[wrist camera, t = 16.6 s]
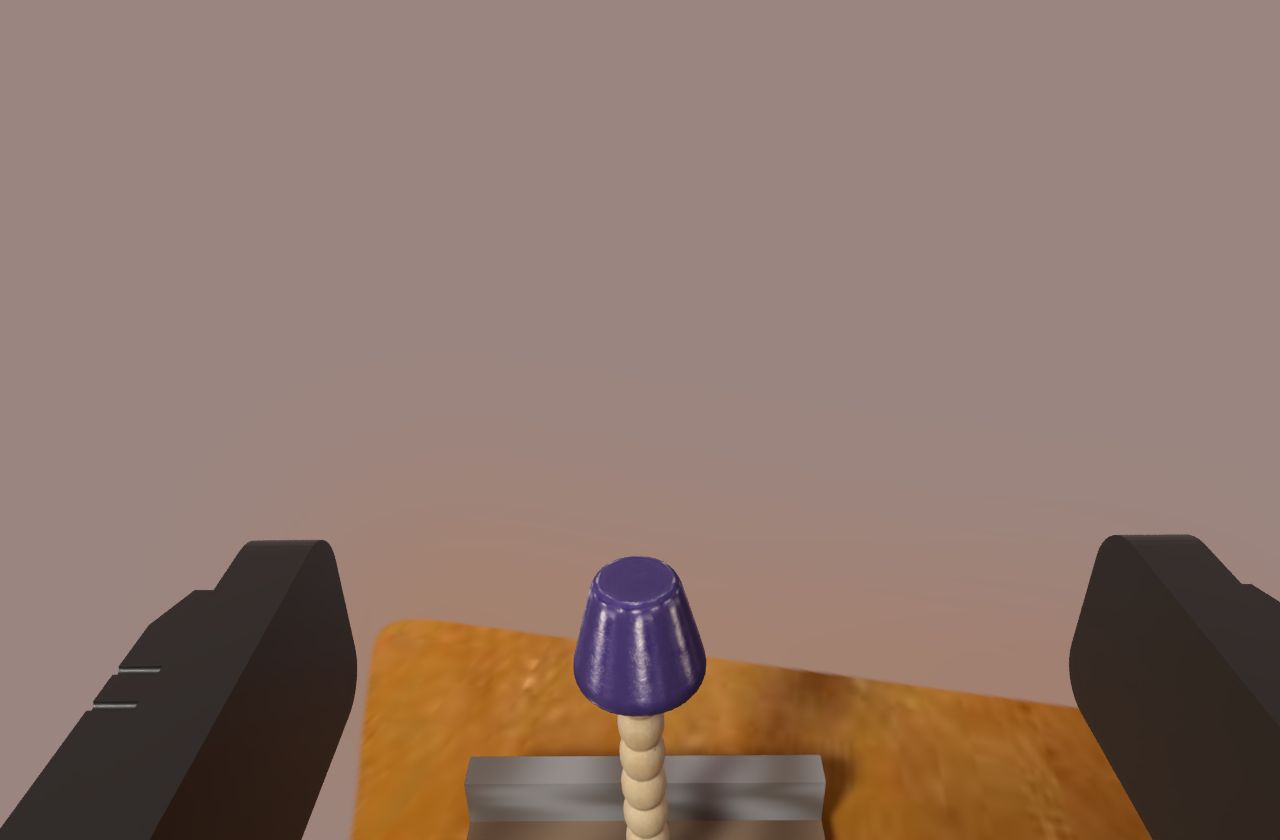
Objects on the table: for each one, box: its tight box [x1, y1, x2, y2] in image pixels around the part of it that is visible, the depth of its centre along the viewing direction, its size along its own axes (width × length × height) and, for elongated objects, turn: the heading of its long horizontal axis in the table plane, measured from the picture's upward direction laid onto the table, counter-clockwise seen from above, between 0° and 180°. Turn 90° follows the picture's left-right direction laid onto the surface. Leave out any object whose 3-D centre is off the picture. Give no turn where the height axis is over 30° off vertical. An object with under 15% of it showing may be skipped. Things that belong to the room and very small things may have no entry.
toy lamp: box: [574, 556, 706, 840], centre depth 33 cm, size 5×5×17 cm
